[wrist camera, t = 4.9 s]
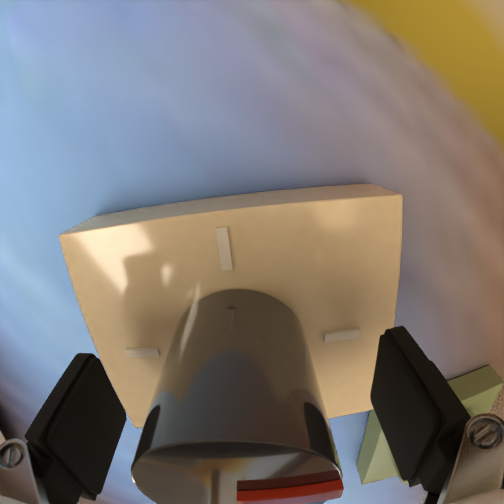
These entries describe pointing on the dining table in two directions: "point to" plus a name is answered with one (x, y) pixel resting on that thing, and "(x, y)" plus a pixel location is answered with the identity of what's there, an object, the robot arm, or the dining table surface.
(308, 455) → the knob
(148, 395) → the panel
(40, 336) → the dining table surface
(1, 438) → the milk container
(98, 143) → the dining table surface
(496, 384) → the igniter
